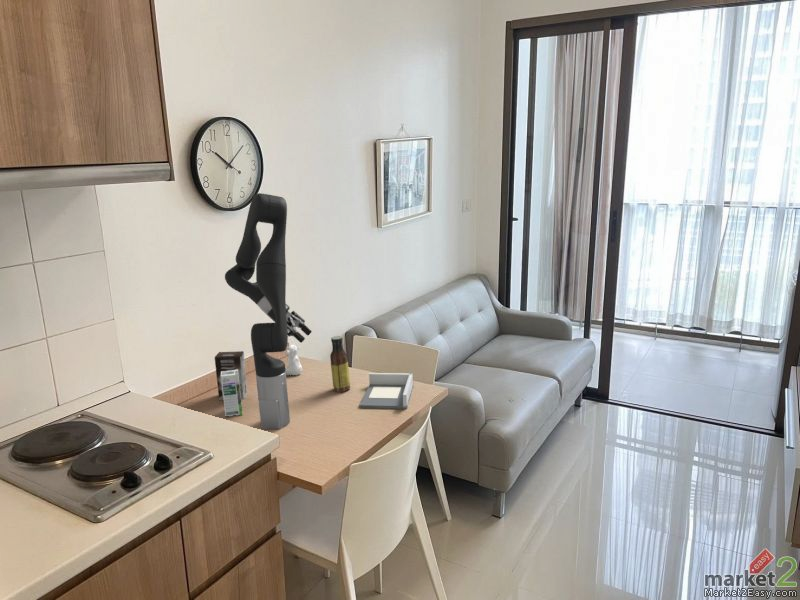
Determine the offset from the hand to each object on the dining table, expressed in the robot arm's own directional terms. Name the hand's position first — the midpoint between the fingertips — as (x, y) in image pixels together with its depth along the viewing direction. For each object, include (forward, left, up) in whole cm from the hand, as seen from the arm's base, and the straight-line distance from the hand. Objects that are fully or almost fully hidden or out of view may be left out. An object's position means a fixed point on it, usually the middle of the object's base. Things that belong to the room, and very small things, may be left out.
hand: (306, 337), depth 214 cm
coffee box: (-8, +26, -20) cm, 34 cm away
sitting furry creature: (+16, +11, -20) cm, 28 cm away
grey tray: (-6, -30, -20) cm, 36 cm away
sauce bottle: (0, -12, -20) cm, 23 cm away
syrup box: (-22, +20, -20) cm, 36 cm away
